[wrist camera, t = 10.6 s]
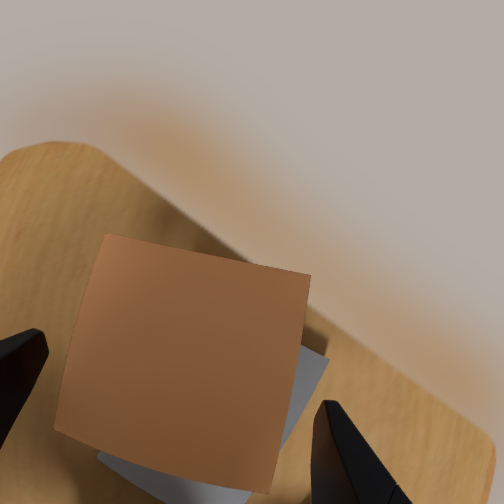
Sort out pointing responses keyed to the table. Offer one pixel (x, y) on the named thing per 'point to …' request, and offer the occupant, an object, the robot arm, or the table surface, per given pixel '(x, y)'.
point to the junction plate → (211, 496)
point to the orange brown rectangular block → (184, 362)
